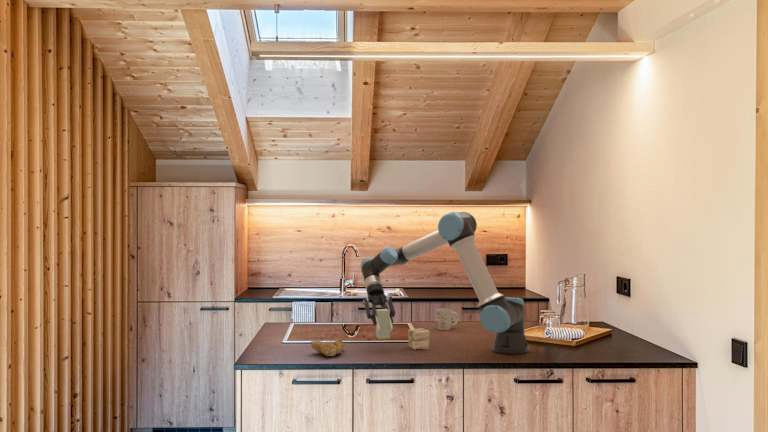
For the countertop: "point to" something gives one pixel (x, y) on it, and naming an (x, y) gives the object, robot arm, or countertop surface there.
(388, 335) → the pale green block
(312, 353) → the countertop surface
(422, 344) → the beige wooden block
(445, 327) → the mug
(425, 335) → the slab upper
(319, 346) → the ginger root
